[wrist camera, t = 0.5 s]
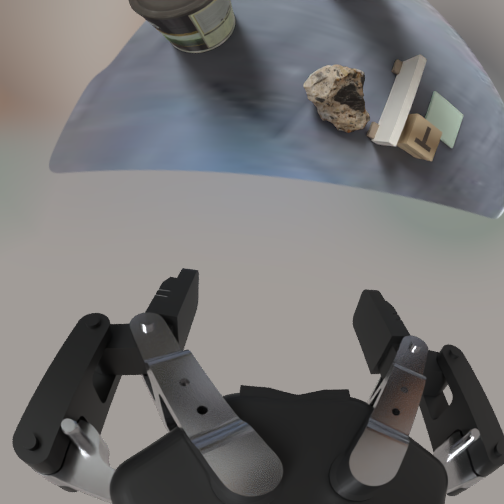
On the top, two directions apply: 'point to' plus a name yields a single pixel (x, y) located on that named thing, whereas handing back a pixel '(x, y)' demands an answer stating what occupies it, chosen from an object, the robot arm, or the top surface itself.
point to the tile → (444, 118)
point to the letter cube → (419, 137)
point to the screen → (398, 101)
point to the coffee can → (189, 21)
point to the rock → (339, 96)
